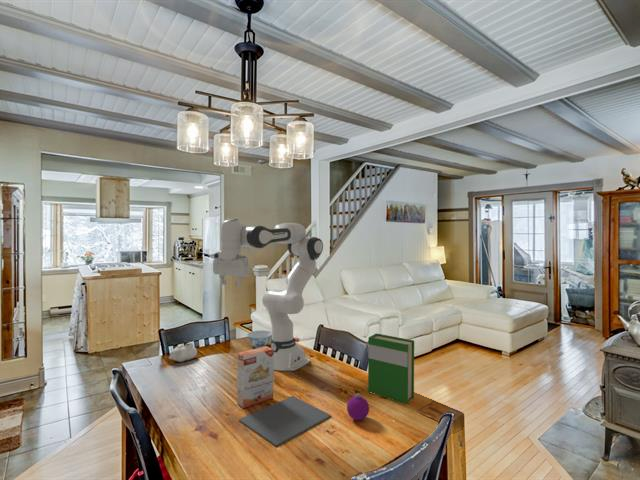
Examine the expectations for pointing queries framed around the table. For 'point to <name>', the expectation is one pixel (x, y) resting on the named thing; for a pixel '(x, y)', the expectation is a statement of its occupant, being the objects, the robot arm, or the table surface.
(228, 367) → the table surface
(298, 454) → the table surface
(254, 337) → the chinaware
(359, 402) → the christmas ornament
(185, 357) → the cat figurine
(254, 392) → the cracker box
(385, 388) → the hardback book
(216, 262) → the robot arm
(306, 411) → the mat
